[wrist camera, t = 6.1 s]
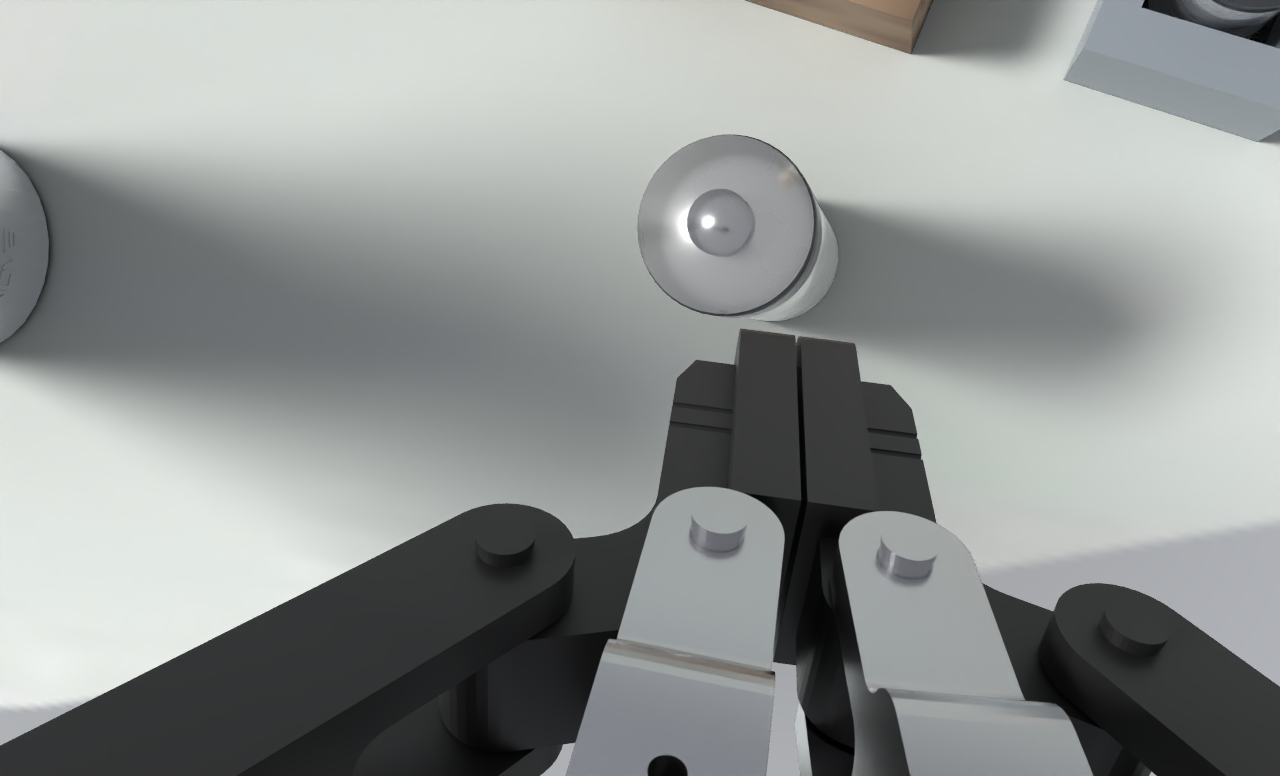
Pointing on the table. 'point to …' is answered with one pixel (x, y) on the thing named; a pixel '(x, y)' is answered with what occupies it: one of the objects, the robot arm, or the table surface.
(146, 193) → the table surface
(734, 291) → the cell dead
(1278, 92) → the tester
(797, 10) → the bin
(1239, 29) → the plunger
